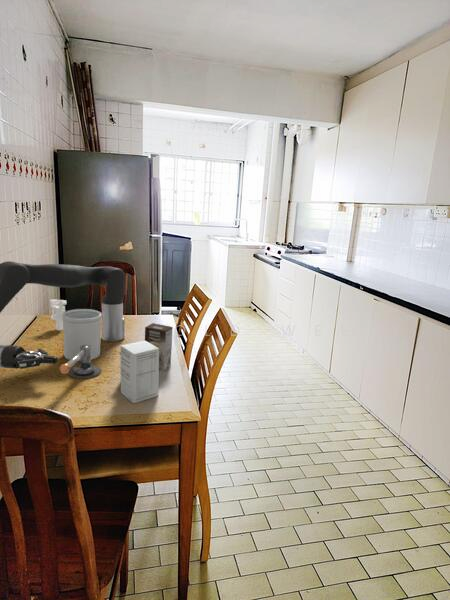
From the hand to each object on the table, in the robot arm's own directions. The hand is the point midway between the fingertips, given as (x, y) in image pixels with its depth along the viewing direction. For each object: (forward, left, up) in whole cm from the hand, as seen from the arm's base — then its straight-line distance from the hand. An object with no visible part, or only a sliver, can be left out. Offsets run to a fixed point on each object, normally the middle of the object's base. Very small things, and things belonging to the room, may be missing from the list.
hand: (56, 360), depth 130 cm
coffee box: (-36, +6, -9) cm, 38 cm away
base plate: (-11, -3, -8) cm, 15 cm away
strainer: (-21, -57, -9) cm, 62 cm away
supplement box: (-18, +23, -9) cm, 30 cm away
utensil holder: (-17, -20, -9) cm, 28 cm away
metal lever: (-6, +2, -8) cm, 10 cm away
